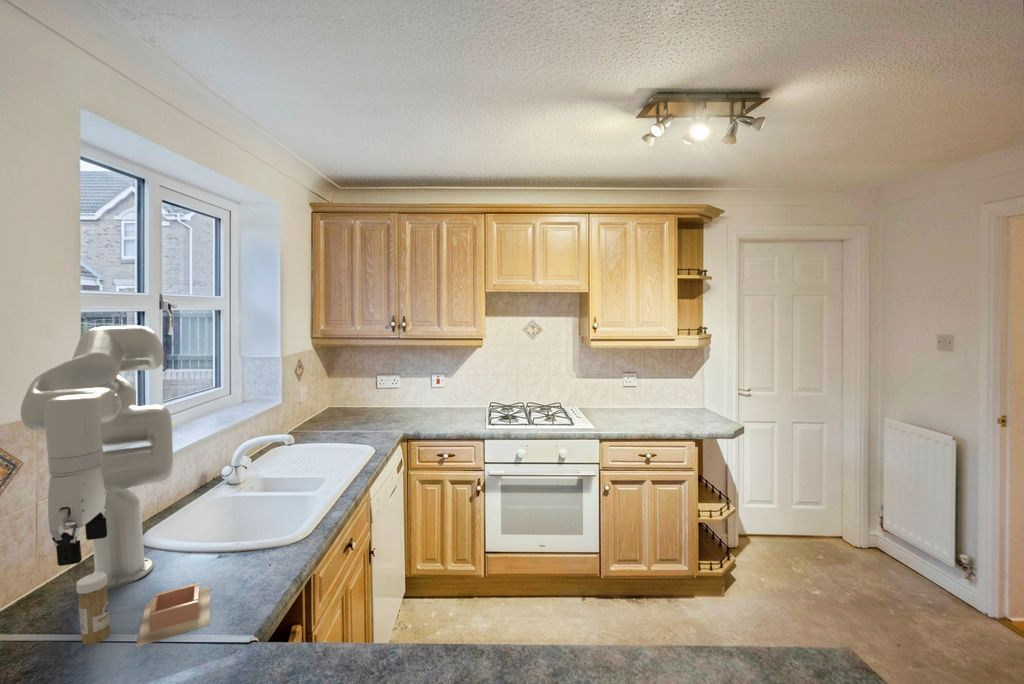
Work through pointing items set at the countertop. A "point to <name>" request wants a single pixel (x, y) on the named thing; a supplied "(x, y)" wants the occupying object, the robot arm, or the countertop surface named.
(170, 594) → the collar
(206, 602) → the stand board
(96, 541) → the robot arm
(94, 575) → the sprinkles bottle
